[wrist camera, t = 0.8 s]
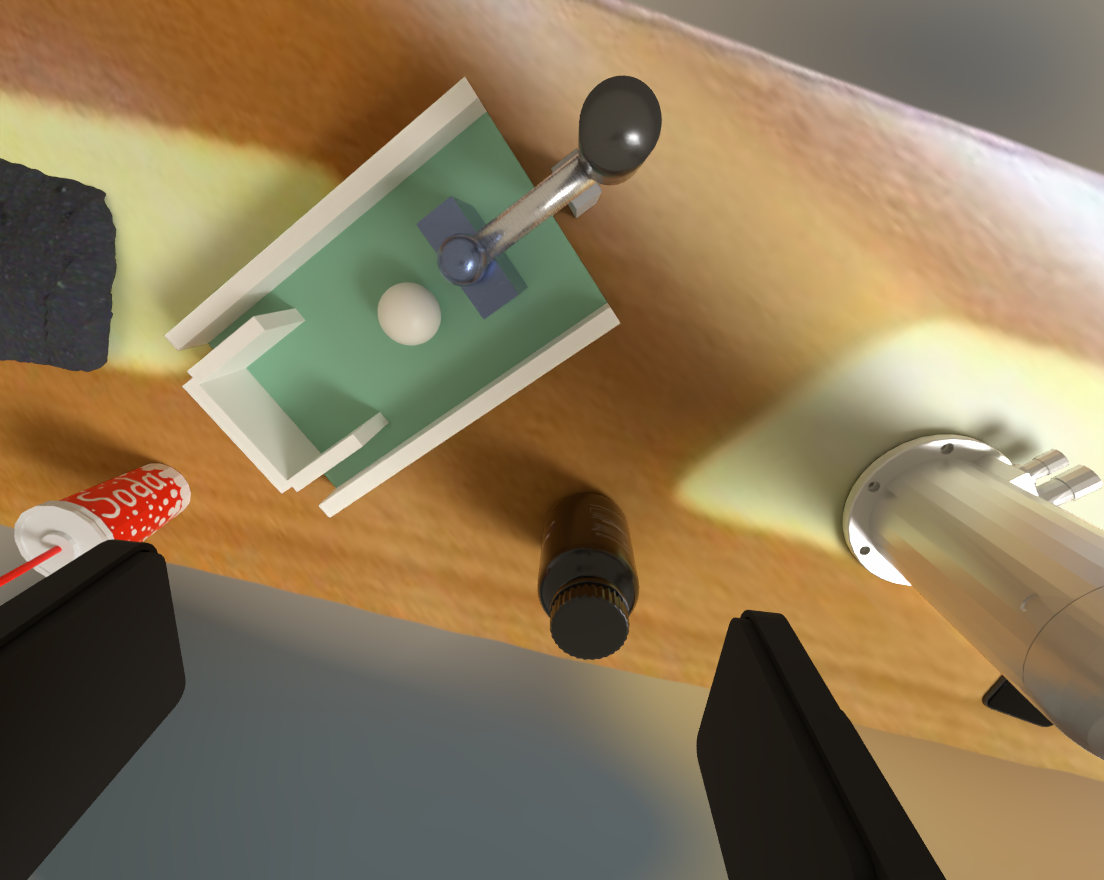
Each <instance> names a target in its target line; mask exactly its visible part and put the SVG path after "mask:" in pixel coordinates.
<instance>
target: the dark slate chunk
mask: <svg viewBox="0 0 1104 880" xmlns="http://www.w3.org/2000/svg"><path fill="white" fill-rule="evenodd" d="M105 195H106V193H104V192H103V191H101V190H99V189H96V188H94V187H90V186H86V185H84V184H82V183H80V182H78V181H75V180H72V179H66V178H58V177H52V176H48V175H45V174H43V173H42V172H41V171H39V170H36V169H30V168H28V167H26V166H24V165H21V164H16V163H10V162H8V161H6V160H4V159H1V158H0V360H1V361H4V360H16V361H18V362H28V363H30V362H32V363H36V364H42V365H51V366H55V367H59V368H63V369H67V370H71V371H80V370H82V371H86V372H89V371H92V370H95V369H98V368H101V367H102V366H103V365H104V364H105V363H106V362H107V356H108V345H109V333H110V321H111V318H112V315H113V313H112V312H111V309H112V294H111V288H112V284H113V281H114V278H115V274H116V259H115V255H116V253H115V237H116V228H115V226H114V225H113V222H112V214H111V212H110V210H109V209H108V207H107V206H106V204H105V202H104V198H105Z"/></svg>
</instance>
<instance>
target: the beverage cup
mask: <svg viewBox="0 0 1104 880" xmlns="http://www.w3.org/2000/svg"><path fill="white" fill-rule="evenodd" d="M190 497H191V492H190V488H189V485H188V483H187V481H186V480H185V479H184V477H183V476H182V475H181V474H180V473H179V472H177V471H176V470H175V469H173V468H172V467H170V466H167V465H164V464H161V463H150V464H147V465H145V466H142V467H140V468H137V469H135V470H133V471H130V472H128V473H125V474H123V475H120V476H118V477H115V478H113V479H111V480H108V481H106V482H103V483H101V484H98V485H96V486H93V487H91V488H89V489H86V490H84V491H81V492H79V493H76V494H74V495H71V496H69V497H67V498H64V499H62V500H59V501H47V502H45V503H43V504H40V505H37V506H35V507H33V508H31V509H29V510H27V511H25V512H22V514H21V515H20V517H19V519H18V520H17V522H16V523H15V541H16V544H17V546H18V548H19V550H20V553H21V555H22V556H23V557H24V558H25V560H26V561H27V562H26V563H25V564H23V565H21V566H19V567H18V568H16V569H14V570H12V571H10V572H9V573H7V574H5V575H3V576H1V577H0V586H2V585H4V584H6V583H8V582H9V581H11V580H13V579H14V578H16V577H18V576H20V575H21V574H23V573H25V572H27V571H28V570H30V569H32V568H33V569H35V570H36V571H38V572H39V573H41V574H42V575H44V576H45V577H47V576H49V575H50V574H52V573H54V572H55V571H57V570H58V569H60V568H62V567H63V566H65V565H66V564H68V563H70V562H71V561H73V560H74V559H76V558H77V557H79V556H81V555H82V554H84V553H85V552H87V551H89V550H90V549H92V548H93V547H95V546H97V545H98V544H100V543H102V542H104V541H106V540H111V539H117V540H126V541H135V542H143V541H144V540H145V539H147V538H148V537H149V536H151V535H152V534H153V533H154V532H156V531H157V530H158V529H160V528H161V527H162V526H164V525H165V524H166V523H167V522H169V521H170V520H171V519H173V518H174V517H175V516H177V515H178V514H179V513H180V512H182V511H183V510H184V509H185V508H186V507H187V505H188V504H189V503H190Z"/></svg>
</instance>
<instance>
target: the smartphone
mask: <svg viewBox="0 0 1104 880" xmlns="http://www.w3.org/2000/svg"><path fill="white" fill-rule="evenodd" d="M983 703H984V705H985V706H987V707H988V708H990V709H993V710H996V711H998V712H1001V713H1004V714H1007V715H1009V716H1012V717H1015V718H1018V719H1021V720H1024V721H1026V722H1029V723H1032V724H1035V725H1038V726H1041V727H1050V726H1052V725H1054V724H1053V723H1052V722H1050V721H1049V720H1048V719H1047V718H1046V717H1045V716H1044V715H1043V714H1042V713H1041V712H1040V711H1039V710H1038V709H1037V708H1036V707H1035V706H1034V705H1033V704H1032V703H1031V702H1030V701H1029V700H1028V699H1027V698H1026V697H1025V696H1023V695H1022V694H1021V693H1020V692H1019V691H1018V690H1017V689H1016V688H1015V687H1014V686H1013V685H1012V684H1011V683H1010V682H1009V681H1008V680H1007V679H1006V678H1005V677H1004V676H1002V677H1001V678H1000V679H999V680H998V681H997V682H996V683H995V685H994V686H993V687H992V688H991V689H990V690H989V691H988V692H987V693H986V695H985V696H984V698H983Z"/></svg>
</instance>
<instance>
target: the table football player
mask: <svg viewBox="0 0 1104 880" xmlns="http://www.w3.org/2000/svg"><path fill="white" fill-rule="evenodd" d="M661 122H662V118H661V110H660V106H659V103H658V100H657V98H656V96H655V94H654V93H653V91H652V90H651V89H650V88H649V87H648V86H647V85H646V84H645V83H644V82H642V81H641V80H639V79H636V78H634V77H630V76H615V77H611V78H608V79H606V80H604V81H603V82H601V83H600V84H598V85H597V86H596V87H595V88H594V89H593V90H592V91H591V92H590V94H589V95H588V97H587V98H586V100H585V102H584V104H583V107H582V110H581V114H580V120H579V143H578V154H577V155H575V156H574V157H573V158H571V159H570V160H569V161H568V162H566V163H565V164H564V165H562V166H561V167H560V168H559V169H557V170H556V171H555V172H553V173H552V174H551V175H549V176H548V177H547V178H546V179H544V180H543V181H542V182H540V183H539V184H538V185H537V186H535V187H534V188H533V189H531V190H530V191H529V192H527V193H526V194H525V195H524V196H522V197H521V198H520V199H518V200H517V201H516V202H514V203H513V204H512V205H511V206H509V207H508V208H507V209H505V210H504V211H503V212H502V213H500V214H499V215H498V216H496V217H495V218H494V219H492V220H491V221H490V222H489V223H487V224H485V222H484V221H483V219H482V218H481V216H480V215H479V213H478V212H477V210H476V209H475V207H474V206H472V205H470V204H468V203H466V202H464V201H462V200H459V199H457V198H455V197H453V196H450V197H449V198H448V199H447V200H445V201H444V202H443V203H442V204H440V205H439V206H438V207H437V208H435V209H434V210H433V211H432V212H430V213H429V214H428V215H427V216H425V217H424V218H423V219H422V220H420V221H419V222H418V223H417V224H416V225H417V226H418V228H419V229H420V231H421V232H422V233H423V235H424V236H425V238H426V239H427V240H428V242H429V243H430V245H431V246H432V248H433V249H434V250H435V252H436V253H437V266H438V269H439V271H440V273H441V275H442V276H443V277H444V278H445V279H446V280H447V281H448V282H449V283H451V284H453V285H455V286H459V287H461V288H462V290H463V291H464V293H465V294H466V295H467V297H468V298H469V300H470V301H471V302H472V304H473V305H474V307H475V308H476V309H477V311H478V312H479V314H480V315H481V316H482V318H483V319H486V318H487V317H489V316H490V315H491V314H493V313H494V312H496V311H497V310H498V309H500V308H501V307H502V306H504V305H505V304H507V303H508V302H509V301H511V300H512V299H514V298H515V297H516V296H518V295H519V294H520V293H522V292H523V291H524V290H526V289H527V288H528V286H527V285H526V283H525V282H524V280H523V279H522V277H521V276H520V274H519V273H518V271H517V270H516V268H515V267H514V265H513V264H512V262H511V261H510V259H509V258H508V256H507V255H506V253H505V251H506V250H507V249H509V248H510V247H511V246H513V245H514V244H515V243H517V242H518V241H519V240H521V239H522V238H523V237H525V236H526V235H527V234H529V233H530V232H531V231H533V230H534V229H535V228H537V227H538V226H539V225H541V224H542V223H543V222H545V221H546V220H547V219H549V218H550V217H551V216H553V215H554V214H555V213H557V212H558V211H559V210H561V209H562V208H563V207H565V206H566V205H567V204H569V203H570V202H571V201H573V200H574V199H575V198H577V197H578V196H579V195H581V194H582V193H583V192H585V191H586V190H587V189H589V188H590V187H591V186H593V185H594V184H595V183H597V182H598V183H600V184H604V185H617V184H620V183H623V182H625V181H626V180H628V179H629V178H631V177H632V176H633V175H634V174H635V173H636V171H637V170H638V169H639V167H640V166H641V165H642V164H643V162H644V161H645V160H646V158H647V157H648V156H649V154H650V153H651V152H652V150H653V149H654V147H655V145H656V143H657V141H658V138H659V135H660V131H661Z"/></svg>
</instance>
